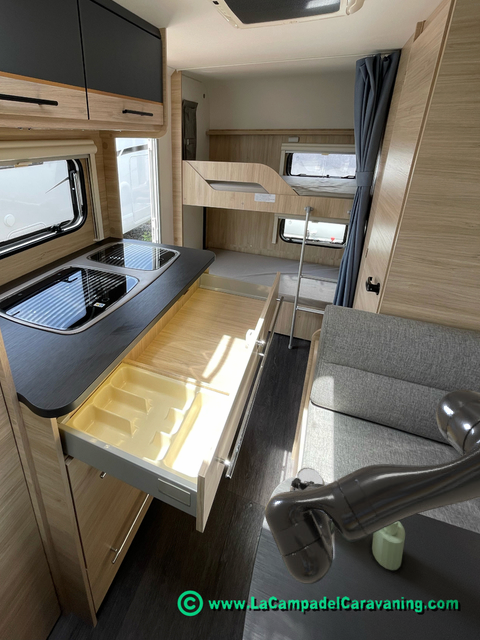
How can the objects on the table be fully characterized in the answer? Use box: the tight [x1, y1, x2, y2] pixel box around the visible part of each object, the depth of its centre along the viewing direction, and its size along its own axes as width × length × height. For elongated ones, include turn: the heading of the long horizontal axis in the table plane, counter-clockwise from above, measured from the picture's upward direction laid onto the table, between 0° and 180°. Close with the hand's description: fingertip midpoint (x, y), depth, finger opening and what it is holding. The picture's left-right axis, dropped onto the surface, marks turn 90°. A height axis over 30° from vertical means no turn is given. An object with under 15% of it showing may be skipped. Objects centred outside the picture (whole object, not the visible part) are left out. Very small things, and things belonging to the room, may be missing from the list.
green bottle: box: [371, 521, 406, 571], centre depth 84 cm, size 7×7×16 cm
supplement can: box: [294, 466, 326, 485], centre depth 96 cm, size 8×8×15 cm
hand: (330, 495), depth 74 cm, fingers open, 8 cm apart
